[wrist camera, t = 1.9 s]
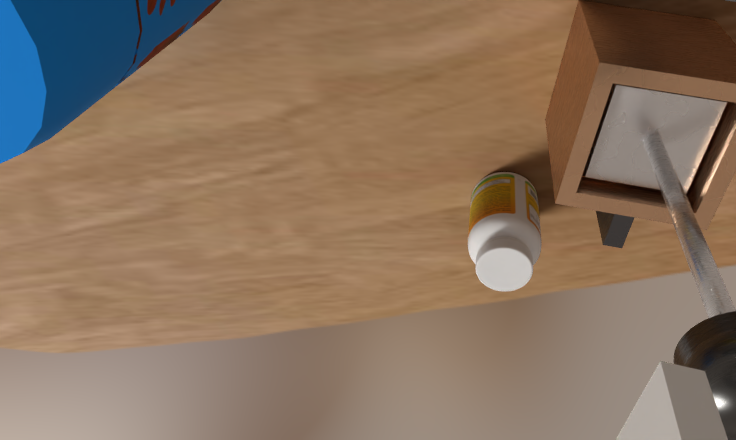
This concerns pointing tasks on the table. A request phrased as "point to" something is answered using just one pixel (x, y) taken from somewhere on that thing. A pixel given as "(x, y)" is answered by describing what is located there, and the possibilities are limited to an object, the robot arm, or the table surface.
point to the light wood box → (645, 70)
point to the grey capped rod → (675, 210)
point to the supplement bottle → (504, 230)
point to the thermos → (75, 57)
